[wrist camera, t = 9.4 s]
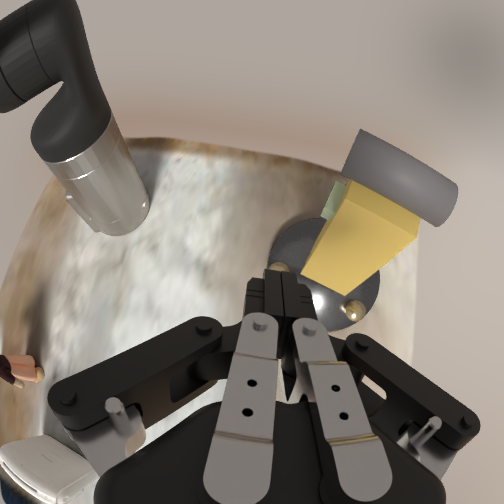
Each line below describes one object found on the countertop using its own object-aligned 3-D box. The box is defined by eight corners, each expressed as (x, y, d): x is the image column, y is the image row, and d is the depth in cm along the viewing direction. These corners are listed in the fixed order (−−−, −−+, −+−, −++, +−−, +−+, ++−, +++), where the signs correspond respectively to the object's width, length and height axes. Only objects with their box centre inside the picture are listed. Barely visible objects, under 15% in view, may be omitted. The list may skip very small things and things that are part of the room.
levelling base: (350, 351, 34) (357, 349, 32) (245, 300, 36) (246, 295, 34) (385, 254, 39) (393, 247, 37) (294, 208, 41) (297, 199, 39)
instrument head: (349, 301, 34) (456, 218, 15) (291, 272, 35) (349, 156, 16) (362, 267, 36) (458, 168, 17) (307, 239, 37) (365, 114, 18)
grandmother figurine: (51, 369, 31) (-9, 363, 19) (45, 391, 29) (-15, 391, 18) (19, 344, 31) (-38, 329, 20) (13, 365, 30) (-44, 355, 18)
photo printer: (103, 466, 26) (55, 494, 15) (98, 487, 25) (53, 518, 13) (45, 429, 27) (-10, 439, 16) (42, 451, 26) (-11, 465, 14)
